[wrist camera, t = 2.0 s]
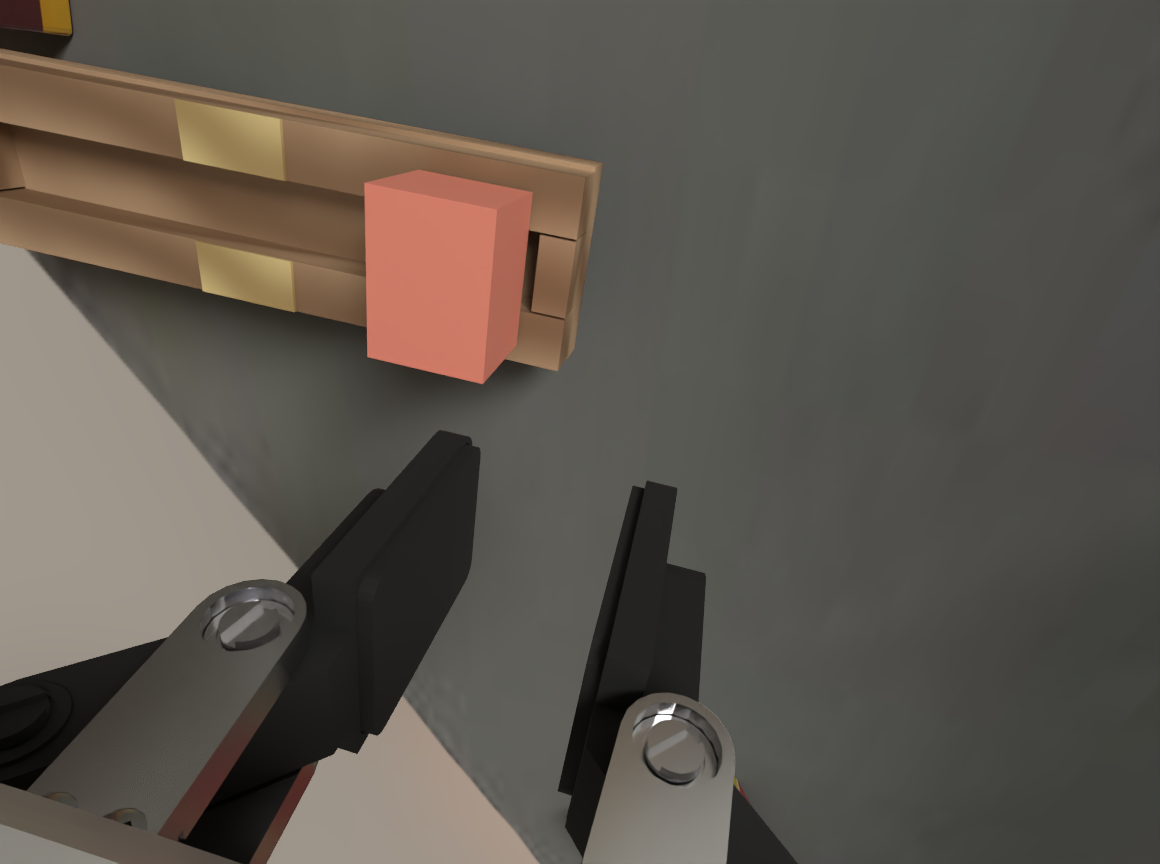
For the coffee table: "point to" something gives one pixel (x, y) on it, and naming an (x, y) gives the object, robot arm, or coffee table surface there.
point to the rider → (444, 272)
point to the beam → (257, 192)
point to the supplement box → (36, 16)
